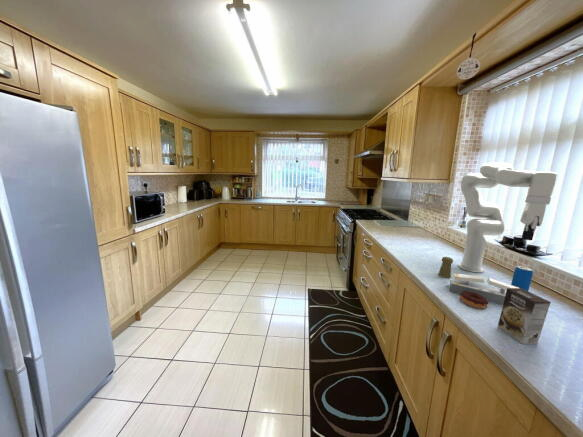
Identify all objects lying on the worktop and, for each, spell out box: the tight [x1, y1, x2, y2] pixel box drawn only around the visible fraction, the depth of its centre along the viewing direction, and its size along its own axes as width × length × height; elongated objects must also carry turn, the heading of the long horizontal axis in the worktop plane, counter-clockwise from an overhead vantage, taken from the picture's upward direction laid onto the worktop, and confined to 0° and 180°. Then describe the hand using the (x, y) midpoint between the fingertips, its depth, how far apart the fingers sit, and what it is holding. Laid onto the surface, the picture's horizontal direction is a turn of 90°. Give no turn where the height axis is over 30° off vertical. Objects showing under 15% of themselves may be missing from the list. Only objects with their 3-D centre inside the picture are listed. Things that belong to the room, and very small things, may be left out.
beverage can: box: [510, 265, 534, 292], centre depth 114 cm, size 6×6×12 cm
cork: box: [438, 256, 454, 279], centre depth 128 cm, size 6×6×11 cm
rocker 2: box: [486, 277, 520, 290], centre depth 104 cm, size 4×11×2 cm, turn 57°
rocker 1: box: [453, 273, 485, 284], centre depth 110 cm, size 4×11×2 cm, turn 57°
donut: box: [459, 291, 489, 309], centre depth 101 cm, size 10×10×4 cm
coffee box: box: [497, 288, 551, 345], centre depth 80 cm, size 9×6×16 cm
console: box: [449, 277, 507, 306], centre depth 107 cm, size 8×27×6 cm, turn 57°
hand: (526, 239), depth 104 cm, fingers closed
